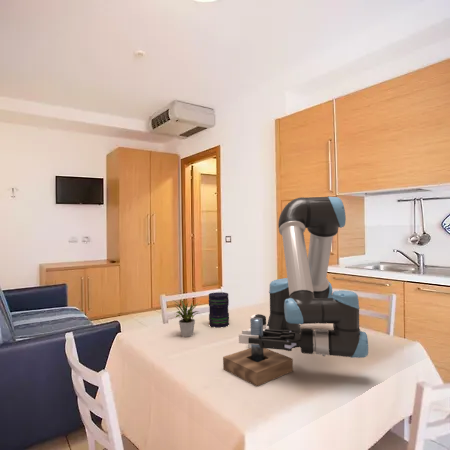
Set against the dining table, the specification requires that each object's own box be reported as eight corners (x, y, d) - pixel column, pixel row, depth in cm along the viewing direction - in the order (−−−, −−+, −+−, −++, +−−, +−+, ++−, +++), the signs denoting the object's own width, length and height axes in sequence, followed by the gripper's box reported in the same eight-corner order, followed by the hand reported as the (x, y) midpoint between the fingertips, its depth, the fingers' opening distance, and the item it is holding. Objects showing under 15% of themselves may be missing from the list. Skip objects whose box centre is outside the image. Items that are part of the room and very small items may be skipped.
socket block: (223, 369, 108) (223, 356, 109) (258, 356, 118) (258, 345, 118) (256, 386, 96) (256, 372, 96) (293, 371, 106) (292, 358, 106)
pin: (249, 365, 107) (247, 319, 108) (257, 361, 110) (256, 316, 110) (257, 369, 104) (256, 321, 105) (266, 365, 107) (265, 319, 107)
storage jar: (217, 321, 167) (216, 291, 167) (233, 323, 161) (232, 293, 161) (204, 325, 159) (204, 294, 159) (221, 329, 153) (220, 296, 153)
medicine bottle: (269, 343, 132) (268, 313, 132) (266, 349, 125) (265, 318, 125) (252, 342, 134) (251, 312, 134) (247, 348, 127) (247, 317, 128)
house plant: (161, 338, 142) (160, 300, 142) (178, 329, 155) (177, 294, 155) (191, 341, 136) (190, 302, 137) (205, 331, 149) (204, 295, 150)
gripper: (313, 364, 94) (234, 357, 101) (314, 344, 110) (246, 339, 117) (313, 337, 94) (234, 332, 101) (313, 321, 111) (245, 318, 117)
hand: (240, 336), depth 109 cm, fingers closed on pin, 4 cm apart
